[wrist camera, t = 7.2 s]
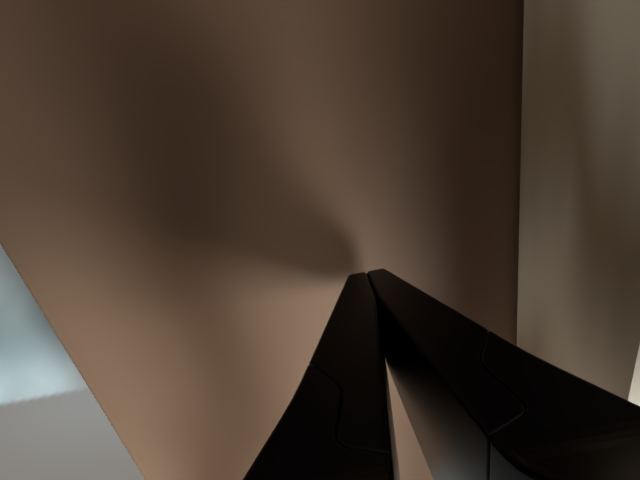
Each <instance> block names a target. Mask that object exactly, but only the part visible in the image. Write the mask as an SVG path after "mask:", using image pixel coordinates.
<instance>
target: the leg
mask: <svg viewBox="0 0 640 480" xmlns="http://www.w3.org/2000/svg"><path fill="white" fill-rule="evenodd" d="M517 346H518V347H520V348H521V349H523V350H525V351H527V352H529V353H530V354H532V355H534V356H536V357H538V358H540V359H542V360H544V361H546V362H548V363H550V364H552V365H554V366H556V367H558V368H560V369H562V370H565V371H567V372H569V373H571V374H573V375H575V376H577V377H579V378H581V379H583V380H586V381H588V382H590V383H592V384H594V385H596V386H598V387H600V388H602V389H604V390H607V391H609V392H611V393H613V394H615V395H617V396H619V397H621V398H623V399H626V400H628V401H630V402H632V403H634V404H636V405H638V406H640V0H524V29H523V75H522V121H521V167H520V213H519V259H518V305H517Z"/></svg>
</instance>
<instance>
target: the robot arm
mask: <svg viewBox="0 0 640 480" xmlns="http://www.w3.org/2000/svg"><path fill="white" fill-rule="evenodd" d="M386 363H387V366H388V368H389V371H390V374H391V376H392V379H393V381H394V384H395V386H396V389H397V391H398V394H399V396H400V399H401V401H402V403H403V406H404V408H405V411H406V413H407V416H408V418H409V421H410V423H411V426H412V428H413V430H414V433H415V435H416V438H417V440H418V443H419V445H420V448H421V450H422V453H423V455H424V457H425V460H426V462H427V465H428V467H429V470H430V472H431V475H432V477H433V480H640V406H638V405H636V404H634V403H632V402H630V401H628V400H626V399H623V398H621V397H619V396H617V395H615V394H613V393H611V392H609V391H607V390H604V389H602V388H600V387H598V386H596V385H594V384H592V383H590V382H588V381H586V380H583V379H581V378H579V377H577V376H575V375H573V374H571V373H569V372H567V371H565V370H562V369H560V368H558V367H556V366H554V365H552V364H550V363H548V362H546V361H544V360H542V359H540V358H538V357H536V356H534V355H532V354H530V353H529V352H527V351H525V350H523V349H521V348H520V347H518V346H516V345H514V344H512V343H511V342H509V341H507V340H505V339H504V338H502V337H500V336H498V335H497V334H495V333H493V332H492V331H489V332H488V329H486V328H485V327H483V326H481V325H479V324H478V323H476V322H474V321H473V320H471V319H469V318H468V317H466V316H464V315H462V314H461V313H459V312H457V311H456V310H454V309H452V308H451V307H449V306H447V305H445V304H444V303H442V302H440V301H439V300H437V299H435V298H434V297H432V296H430V295H428V294H427V293H425V292H423V291H422V290H420V289H418V288H417V287H415V286H413V285H411V284H410V283H408V282H406V281H405V280H403V279H401V278H400V277H398V276H396V275H394V274H393V273H391V272H389V271H388V270H386V269H383V268H381V269H376V270H371V271H368V272H367V274H366V273H365V272H361V273H356V274H351V275H349V276H348V278H347V280H346V282H345V284H344V287H343V289H342V291H341V293H340V296H339V298H338V300H337V302H336V304H335V307H334V309H333V311H332V313H331V316H330V318H329V320H328V322H327V324H326V327H325V329H324V331H323V333H322V336H321V338H320V340H319V342H318V345H317V347H316V349H315V351H314V353H313V356H312V358H311V360H310V362H309V365H308V366H307V369H306V371H305V373H304V375H303V378H302V380H301V382H300V384H299V386H298V388H297V390H296V392H295V394H294V396H293V398H292V400H291V402H290V403H289V405H288V407H287V408H286V410H285V412H284V413H283V415H282V417H281V419H280V420H279V422H278V424H277V425H276V427H275V428H274V430H273V432H272V433H271V435H270V436H269V438H268V440H267V441H266V443H265V444H264V446H263V448H262V449H261V451H260V452H259V454H258V456H257V457H256V459H255V460H254V462H253V464H252V465H251V467H250V468H249V470H248V472H247V473H246V475H245V476H244V478H243V480H401V479H400V471H399V463H398V454H397V446H396V438H395V430H394V422H393V414H392V406H391V397H390V389H389V381H388V373H387V366H386Z"/></svg>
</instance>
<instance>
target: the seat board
mask: <svg viewBox="0 0 640 480" xmlns="http://www.w3.org/2000/svg"><path fill="white" fill-rule="evenodd" d="M523 29H524V0H0V243H1V245H2V246H3V248H4V250H5V251H6V253H7V255H8V256H9V258H10V260H11V261H12V263H13V264H14V266H15V268H16V269H17V271H18V273H19V274H20V276H21V278H22V279H23V281H24V282H25V284H26V286H27V287H28V289H29V291H30V292H31V294H32V296H33V297H34V299H35V300H36V302H37V304H38V305H39V307H40V309H41V310H42V312H43V313H44V315H45V317H46V318H47V320H48V322H49V323H50V325H51V327H52V328H53V330H54V331H55V333H56V335H57V336H58V338H59V340H60V341H61V343H62V345H63V346H64V348H65V349H66V351H67V353H68V354H69V356H70V358H71V359H72V361H73V362H74V364H75V366H76V367H77V369H78V371H79V372H80V374H81V376H82V377H83V379H84V380H85V382H86V384H87V385H88V387H89V389H90V390H91V392H92V394H93V395H94V397H95V398H96V400H97V402H98V403H99V405H100V406H101V408H102V410H103V411H104V413H105V415H106V416H107V418H108V420H109V421H110V423H111V425H112V426H113V428H114V429H115V431H116V433H117V434H118V436H119V438H120V439H121V441H122V443H123V444H124V446H125V447H126V449H127V451H128V452H129V454H130V456H131V457H132V459H133V461H134V462H135V464H136V465H137V467H138V468H139V470H140V472H141V474H142V475H143V477H144V478H145V480H243V478H244V476H245V475H246V473H247V472H248V470H249V468H250V467H251V465H252V464H253V462H254V460H255V459H256V457H257V456H258V454H259V452H260V451H261V449H262V448H263V446H264V444H265V443H266V441H267V440H268V438H269V436H270V435H271V433H272V432H273V430H274V428H275V427H276V425H277V424H278V422H279V420H280V419H281V417H282V415H283V413H284V412H285V410H286V408H287V407H288V405H289V403H290V402H291V400H292V398H293V396H294V394H295V392H296V390H297V388H298V386H299V384H300V382H301V380H302V378H303V375H304V373H305V371H306V369H307V366H308V365H309V362H310V360H311V358H312V356H313V353H314V351H315V349H316V347H317V345H318V342H319V340H320V338H321V336H322V333H323V331H324V329H325V327H326V324H327V322H328V320H329V318H330V316H331V313H332V311H333V309H334V307H335V304H336V302H337V300H338V298H339V296H340V293H341V291H342V289H343V287H344V284H345V282H346V280H347V278H348V276H349V275H351V274H356V273H361V272H365V273H366V274H367V272H368V271H371V270H376V269H381V268H383V269H386V270H388V271H389V272H391V273H393V274H394V275H396V276H398V277H400V278H401V279H403V280H405V281H406V282H408V283H410V284H411V285H413V286H415V287H417V288H418V289H420V290H422V291H423V292H425V293H427V294H428V295H430V296H432V297H434V298H435V299H437V300H439V301H440V302H442V303H444V304H445V305H447V306H449V307H451V308H452V309H454V310H456V311H457V312H459V313H461V314H462V315H464V316H466V317H468V318H469V319H471V320H473V321H474V322H476V323H478V324H479V325H481V326H483V327H485V328H486V329H488V332H489V331H492V332H493V333H495V334H497V335H498V336H500V337H502V338H504V339H505V340H507V341H509V342H511V343H512V344H514V345H516V346H517V305H518V259H519V213H520V167H521V121H522V75H523ZM386 366H387V363H386ZM387 373H388V381H389V389H390V397H391V406H392V414H393V422H394V430H395V438H396V446H397V454H398V463H399V471H400V479H401V480H433V477H432V475H431V472H430V470H429V467H428V465H427V462H426V460H425V457H424V455H423V453H422V450H421V448H420V445H419V443H418V440H417V438H416V435H415V433H414V430H413V428H412V426H411V423H410V421H409V418H408V416H407V413H406V411H405V408H404V406H403V403H402V401H401V399H400V396H399V394H398V391H397V389H396V386H395V384H394V381H393V379H392V376H391V374H390V371H389V368H388V366H387Z"/></svg>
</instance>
